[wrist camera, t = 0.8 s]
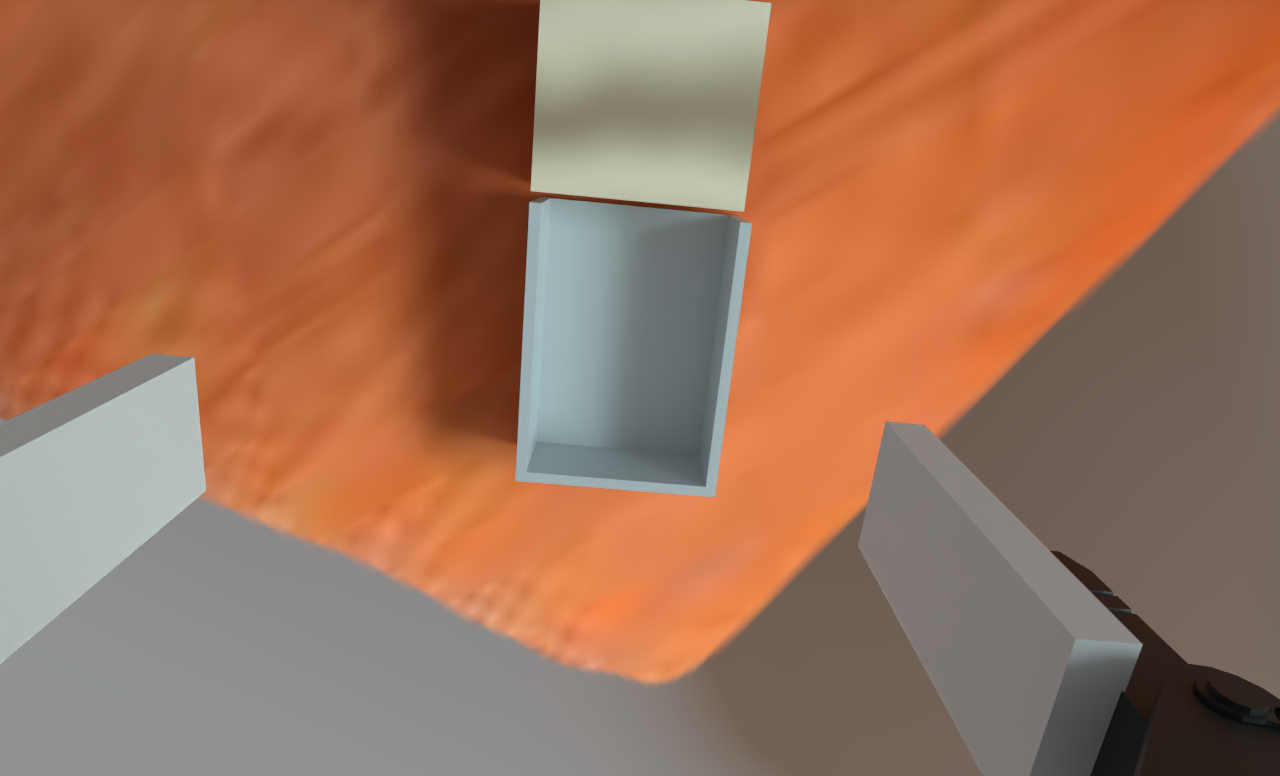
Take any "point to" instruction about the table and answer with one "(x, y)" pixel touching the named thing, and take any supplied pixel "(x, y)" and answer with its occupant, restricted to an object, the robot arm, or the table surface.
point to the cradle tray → (628, 345)
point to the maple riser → (648, 99)
